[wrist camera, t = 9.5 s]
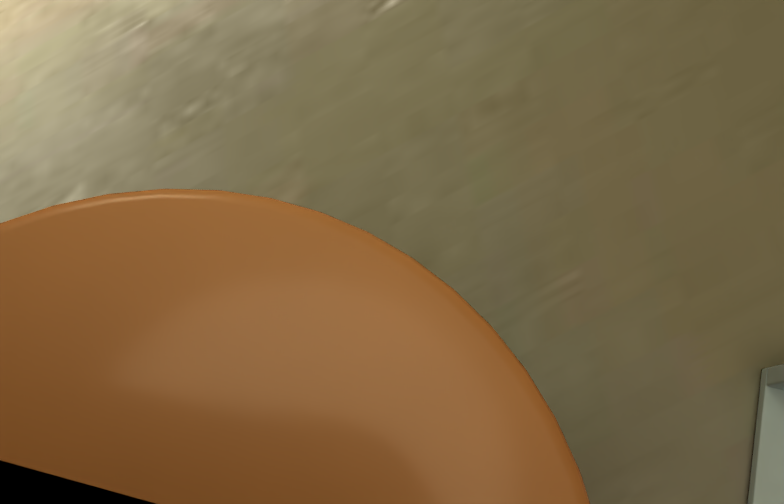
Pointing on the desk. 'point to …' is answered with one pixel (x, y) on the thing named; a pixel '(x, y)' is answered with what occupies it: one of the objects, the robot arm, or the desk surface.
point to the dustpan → (769, 441)
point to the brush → (252, 365)
